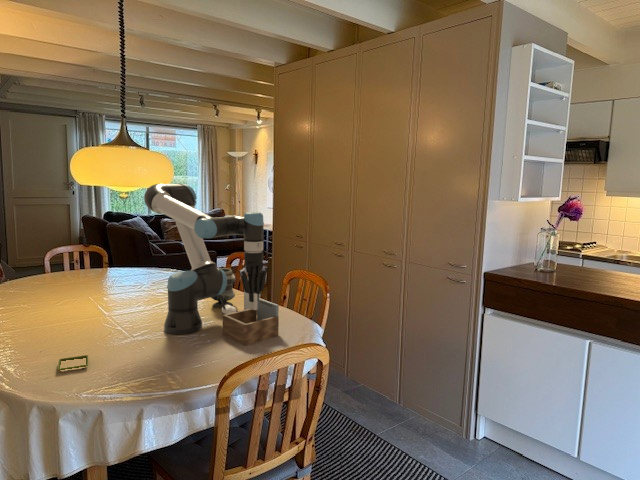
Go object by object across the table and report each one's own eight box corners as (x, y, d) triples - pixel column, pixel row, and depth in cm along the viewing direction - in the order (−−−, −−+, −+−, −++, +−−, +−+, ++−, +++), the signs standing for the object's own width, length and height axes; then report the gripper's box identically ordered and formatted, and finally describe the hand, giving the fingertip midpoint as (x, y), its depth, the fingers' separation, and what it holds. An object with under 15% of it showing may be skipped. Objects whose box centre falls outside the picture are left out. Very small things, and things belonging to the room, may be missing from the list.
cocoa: (236, 317, 200) (237, 291, 199) (240, 321, 195) (241, 294, 194) (215, 318, 196) (216, 292, 195) (218, 322, 191) (219, 295, 190)
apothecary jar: (227, 310, 209) (226, 273, 206) (205, 307, 213) (204, 271, 210) (239, 303, 220) (239, 268, 218) (218, 301, 224) (218, 266, 221)
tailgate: (275, 329, 178) (275, 305, 177) (256, 321, 187) (256, 298, 186) (278, 328, 179) (278, 304, 178) (259, 320, 188) (259, 298, 187)
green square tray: (88, 360, 151) (88, 354, 151) (88, 370, 143) (88, 364, 143) (59, 364, 147) (58, 359, 147) (57, 375, 139) (57, 369, 139)
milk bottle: (257, 314, 204) (257, 272, 201) (241, 313, 205) (241, 271, 202) (262, 309, 211) (262, 269, 208) (247, 308, 213) (247, 268, 210)
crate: (245, 345, 166) (245, 325, 165) (222, 334, 178) (222, 315, 177) (278, 335, 177) (278, 316, 176) (255, 325, 189) (255, 307, 188)
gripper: (245, 254, 167) (245, 314, 170) (272, 251, 175) (272, 308, 179) (234, 251, 172) (235, 310, 175) (261, 248, 181) (261, 304, 184)
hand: (253, 309), depth 177 cm, fingers closed
